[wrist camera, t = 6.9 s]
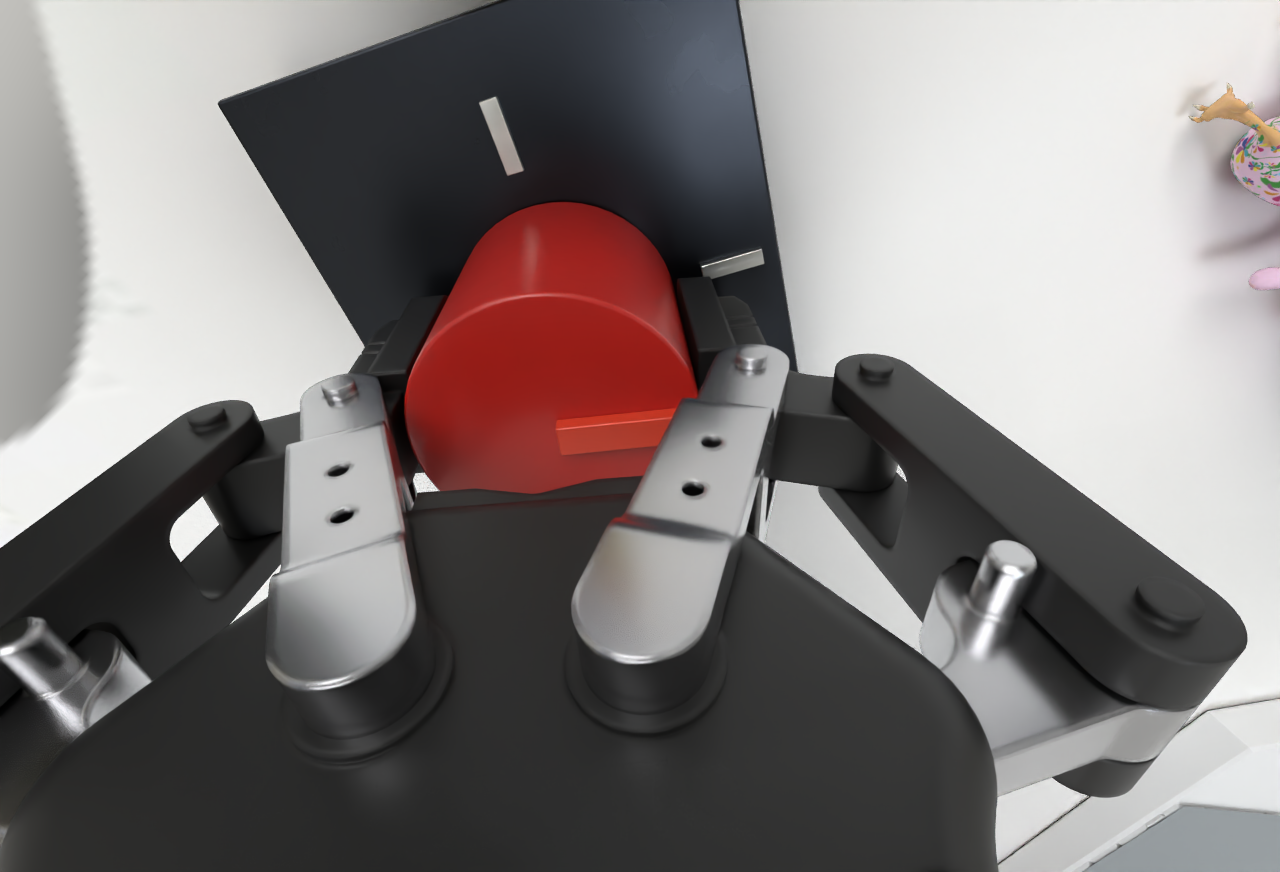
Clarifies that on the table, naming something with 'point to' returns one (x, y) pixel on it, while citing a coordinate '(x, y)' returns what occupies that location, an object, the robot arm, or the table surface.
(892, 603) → the table surface
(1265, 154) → the pink creature figurine
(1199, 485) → the table surface
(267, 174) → the control panel
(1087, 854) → the laptop
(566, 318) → the knob
